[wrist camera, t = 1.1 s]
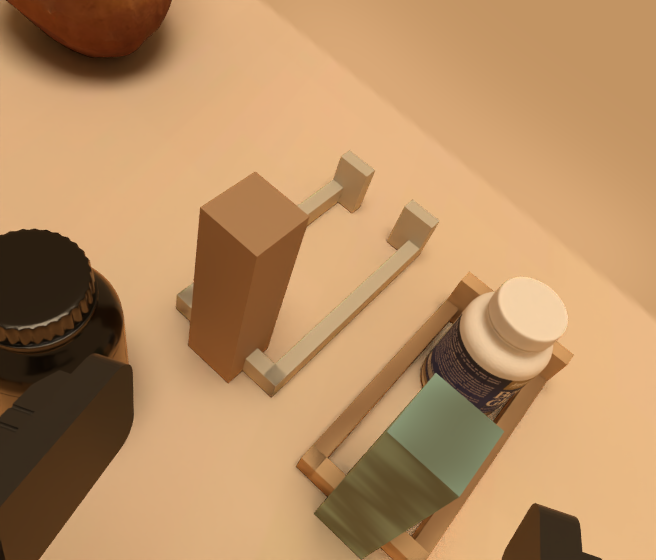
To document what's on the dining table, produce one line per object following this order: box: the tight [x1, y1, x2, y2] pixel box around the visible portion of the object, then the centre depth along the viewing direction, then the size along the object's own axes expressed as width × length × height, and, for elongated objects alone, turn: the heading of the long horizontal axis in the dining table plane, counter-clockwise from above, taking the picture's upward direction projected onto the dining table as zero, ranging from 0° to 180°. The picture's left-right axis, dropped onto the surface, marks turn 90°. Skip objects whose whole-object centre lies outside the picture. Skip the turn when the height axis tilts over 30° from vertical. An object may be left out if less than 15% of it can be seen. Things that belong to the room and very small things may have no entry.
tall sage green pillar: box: [296, 272, 574, 560], centre depth 32 cm, size 8×17×13 cm, turn 140°
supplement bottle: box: [0, 229, 129, 416], centre depth 29 cm, size 7×7×12 cm
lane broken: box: [176, 150, 440, 397], centre depth 36 cm, size 8×17×13 cm, turn 140°
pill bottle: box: [422, 277, 568, 416], centre depth 36 cm, size 5×5×10 cm
